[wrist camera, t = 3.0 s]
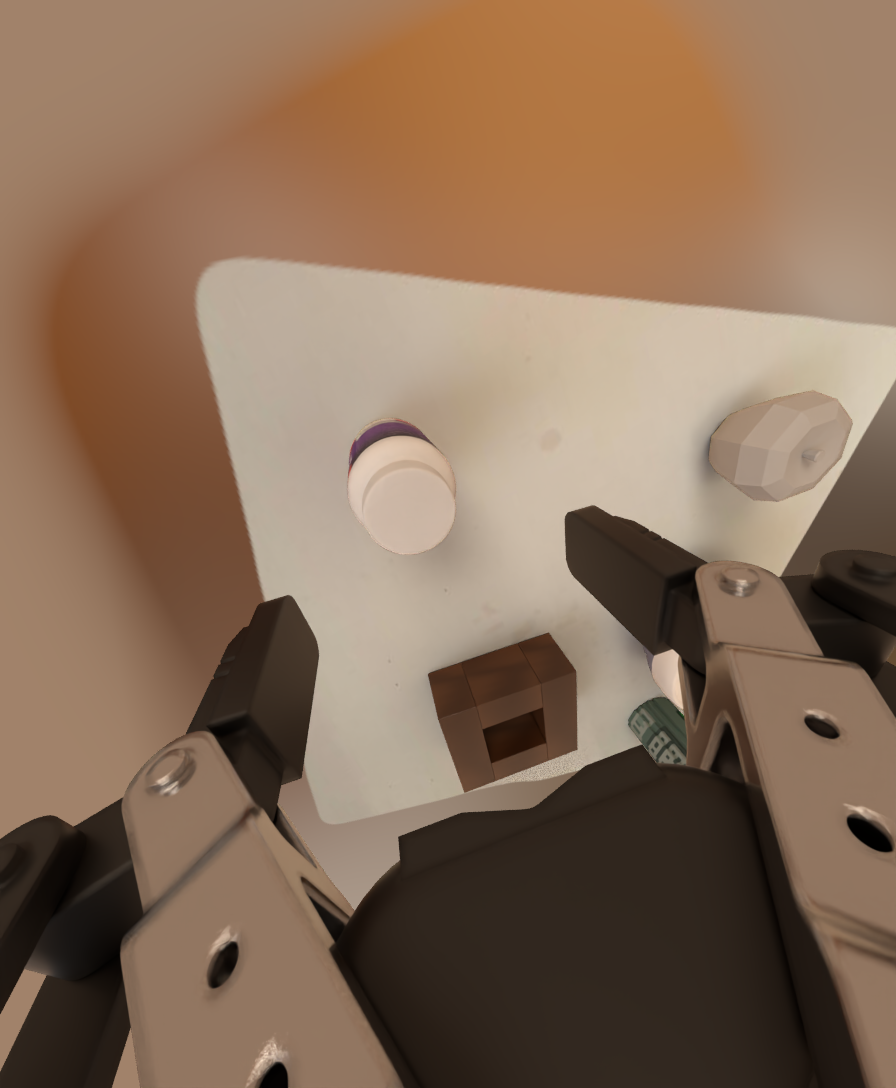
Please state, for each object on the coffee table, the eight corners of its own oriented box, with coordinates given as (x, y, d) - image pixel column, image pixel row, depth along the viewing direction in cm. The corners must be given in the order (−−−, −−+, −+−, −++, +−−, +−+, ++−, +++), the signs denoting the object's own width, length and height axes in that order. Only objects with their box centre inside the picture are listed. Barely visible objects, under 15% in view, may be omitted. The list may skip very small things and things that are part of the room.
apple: (670, 481, 29) (747, 509, 23) (713, 380, 26) (815, 384, 20) (739, 486, 31) (825, 513, 25) (787, 393, 28) (898, 400, 22)
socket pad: (452, 746, 39) (464, 793, 35) (427, 673, 33) (438, 720, 28) (554, 708, 40) (577, 749, 36) (548, 632, 34) (576, 671, 30)
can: (656, 726, 48) (765, 858, 35) (622, 730, 46) (724, 870, 33) (676, 696, 46) (802, 827, 33) (641, 699, 44) (759, 838, 31)
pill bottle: (332, 442, 21) (316, 491, 13) (407, 401, 21) (439, 423, 13) (377, 511, 24) (388, 588, 16) (443, 475, 24) (490, 532, 16)
